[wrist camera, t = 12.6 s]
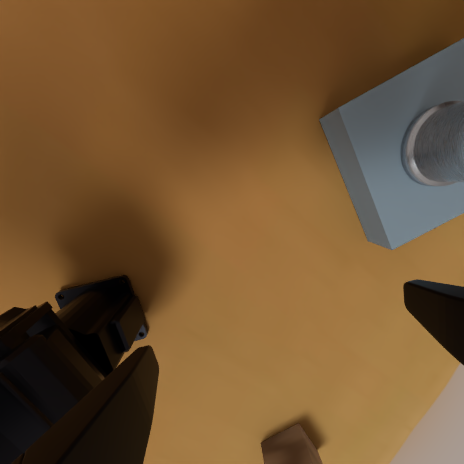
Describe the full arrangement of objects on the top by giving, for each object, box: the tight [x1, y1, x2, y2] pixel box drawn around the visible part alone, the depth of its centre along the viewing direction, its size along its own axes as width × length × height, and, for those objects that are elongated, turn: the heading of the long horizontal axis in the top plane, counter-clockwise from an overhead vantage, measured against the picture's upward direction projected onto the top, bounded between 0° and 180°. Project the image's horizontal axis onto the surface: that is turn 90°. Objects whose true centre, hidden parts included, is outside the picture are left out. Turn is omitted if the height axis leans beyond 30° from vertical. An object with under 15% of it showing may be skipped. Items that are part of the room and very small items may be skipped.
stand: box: [319, 38, 464, 250], centre depth 18 cm, size 12×12×3 cm
